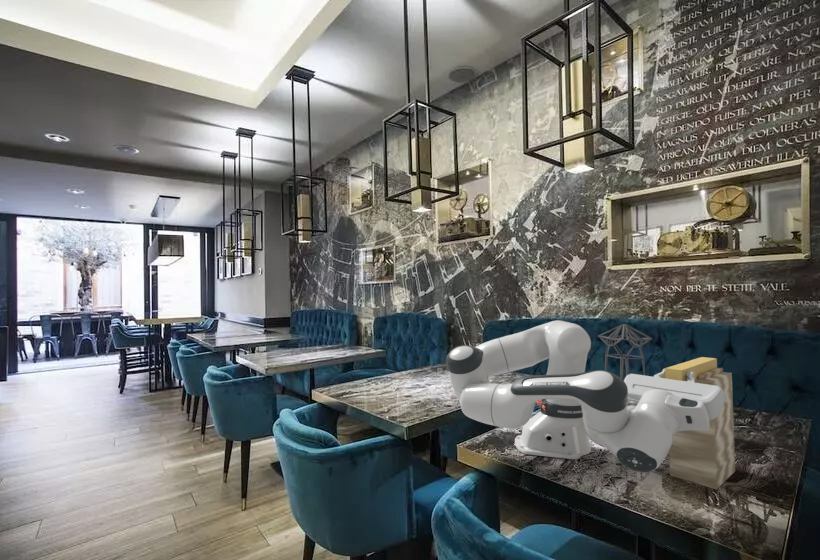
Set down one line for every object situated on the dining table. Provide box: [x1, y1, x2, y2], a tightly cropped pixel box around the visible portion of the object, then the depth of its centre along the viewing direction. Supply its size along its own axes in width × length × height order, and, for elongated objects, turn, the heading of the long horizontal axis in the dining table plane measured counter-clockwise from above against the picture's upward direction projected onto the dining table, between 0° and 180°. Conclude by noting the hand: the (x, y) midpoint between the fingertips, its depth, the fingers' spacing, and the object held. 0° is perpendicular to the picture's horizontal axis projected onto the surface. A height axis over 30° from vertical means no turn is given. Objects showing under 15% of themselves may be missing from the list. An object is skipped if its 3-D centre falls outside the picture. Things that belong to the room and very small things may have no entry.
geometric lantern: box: [597, 323, 653, 406], centre depth 165 cm, size 16×16×35 cm
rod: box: [664, 356, 718, 381], centre depth 105 cm, size 26×4×4 cm, turn 128°
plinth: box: [668, 367, 736, 490], centre depth 107 cm, size 16×10×27 cm, turn 128°
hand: (679, 372), depth 99 cm, fingers closed on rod, 3 cm apart
